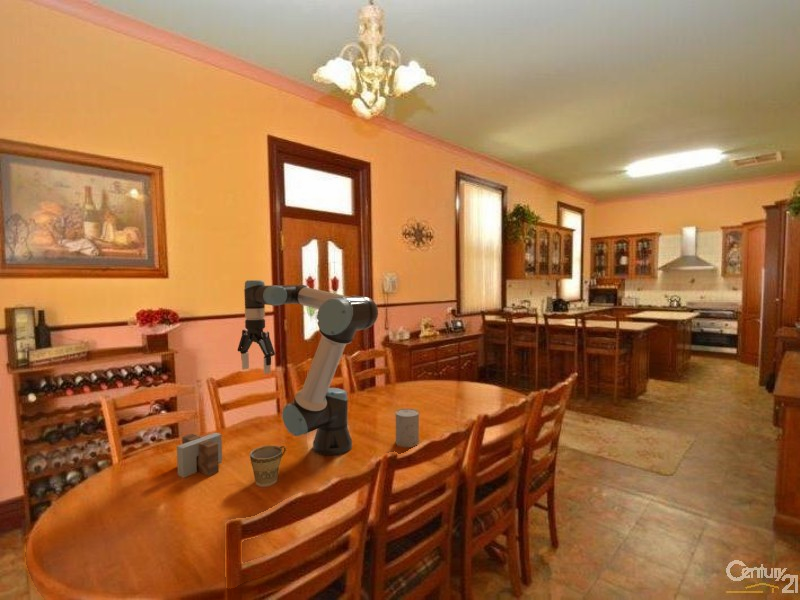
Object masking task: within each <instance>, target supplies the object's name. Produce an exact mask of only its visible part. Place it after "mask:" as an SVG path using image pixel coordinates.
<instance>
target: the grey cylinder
mask: <svg viewBox="0 0 800 600" xmlns="http://www.w3.org/2000/svg"><path fill="white" fill-rule="evenodd" d="M419 440H420V412H419V410H417V409H414V408H401V409H397V410H396V411H395V444H396V446H398V447H401V448H413V447H416V445H417V444H418V445H419V444H420V441H419ZM418 445H417V446H418Z"/></svg>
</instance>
